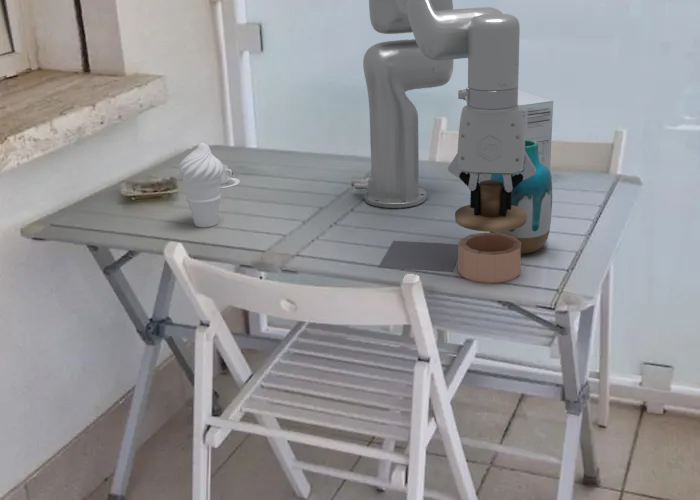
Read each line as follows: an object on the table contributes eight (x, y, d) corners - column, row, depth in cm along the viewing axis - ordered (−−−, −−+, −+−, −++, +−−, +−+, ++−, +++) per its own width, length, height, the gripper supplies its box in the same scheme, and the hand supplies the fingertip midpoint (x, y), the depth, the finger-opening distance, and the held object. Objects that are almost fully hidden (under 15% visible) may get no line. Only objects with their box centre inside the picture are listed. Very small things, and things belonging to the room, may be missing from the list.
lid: (450, 229, 146) (450, 192, 144) (460, 207, 156) (460, 172, 154) (523, 233, 143) (524, 195, 141) (529, 210, 153) (530, 174, 151)
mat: (378, 270, 157) (378, 266, 156) (393, 243, 168) (393, 240, 167) (452, 274, 154) (452, 271, 153) (463, 247, 165) (463, 244, 164)
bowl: (454, 284, 150) (454, 252, 148) (463, 261, 159) (463, 231, 157) (517, 288, 148) (518, 256, 146) (522, 264, 156) (523, 234, 154)
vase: (481, 241, 167) (483, 136, 160) (540, 238, 168) (544, 133, 161) (495, 264, 157) (497, 153, 150) (557, 260, 158) (562, 149, 151)
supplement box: (551, 182, 198) (555, 100, 192) (497, 192, 193) (499, 108, 187) (517, 167, 209) (520, 89, 203) (465, 175, 205) (466, 96, 199)
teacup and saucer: (194, 184, 207) (192, 166, 206) (224, 176, 212) (222, 158, 211) (217, 192, 201) (215, 174, 200) (247, 184, 206) (245, 166, 205)
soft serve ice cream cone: (192, 234, 176) (183, 151, 170) (178, 221, 183) (169, 141, 177) (234, 226, 179) (227, 144, 174) (219, 214, 186) (212, 135, 181)
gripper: (434, 102, 141) (435, 218, 148) (547, 104, 137) (542, 223, 144) (442, 92, 148) (442, 203, 155) (549, 94, 144) (545, 207, 151)
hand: (490, 211), depth 149 cm, fingers closed on lid, 3 cm apart
